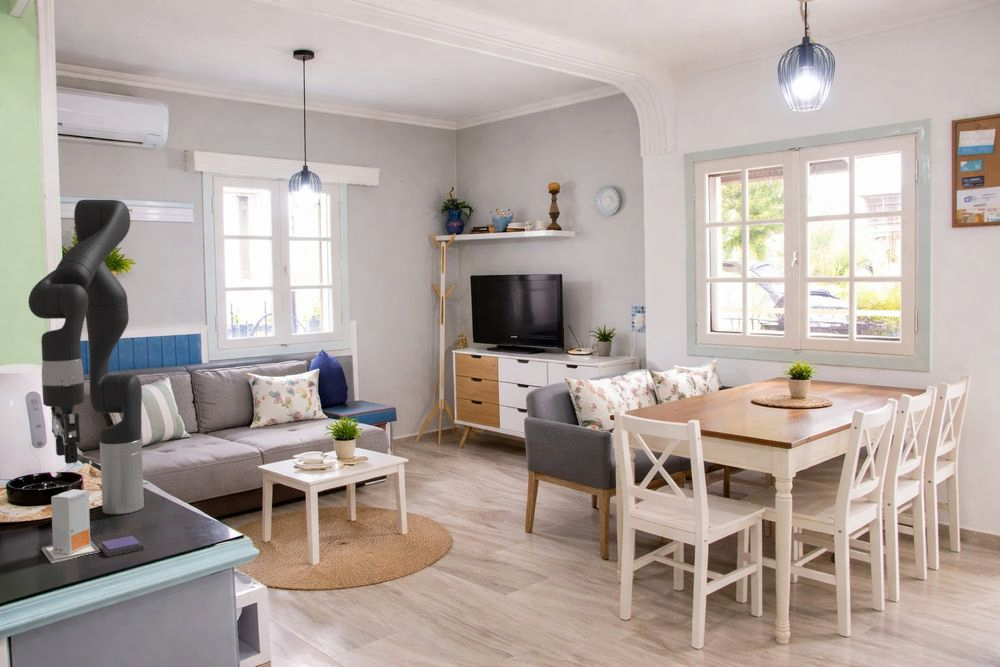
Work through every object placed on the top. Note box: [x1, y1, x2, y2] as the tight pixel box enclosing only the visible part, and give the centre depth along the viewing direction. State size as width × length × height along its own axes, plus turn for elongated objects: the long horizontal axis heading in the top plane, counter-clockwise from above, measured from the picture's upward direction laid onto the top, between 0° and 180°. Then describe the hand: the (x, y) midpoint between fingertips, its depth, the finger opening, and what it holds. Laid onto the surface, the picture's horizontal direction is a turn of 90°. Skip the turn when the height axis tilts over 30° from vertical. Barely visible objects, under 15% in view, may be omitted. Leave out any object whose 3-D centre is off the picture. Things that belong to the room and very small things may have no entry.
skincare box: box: [50, 488, 91, 554], centre depth 166 cm, size 6×4×12 cm
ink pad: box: [98, 535, 144, 557], centre depth 168 cm, size 7×7×1 cm
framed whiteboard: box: [41, 539, 101, 564], centre depth 167 cm, size 10×9×1 cm
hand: (66, 458), depth 165 cm, fingers open, 8 cm apart
